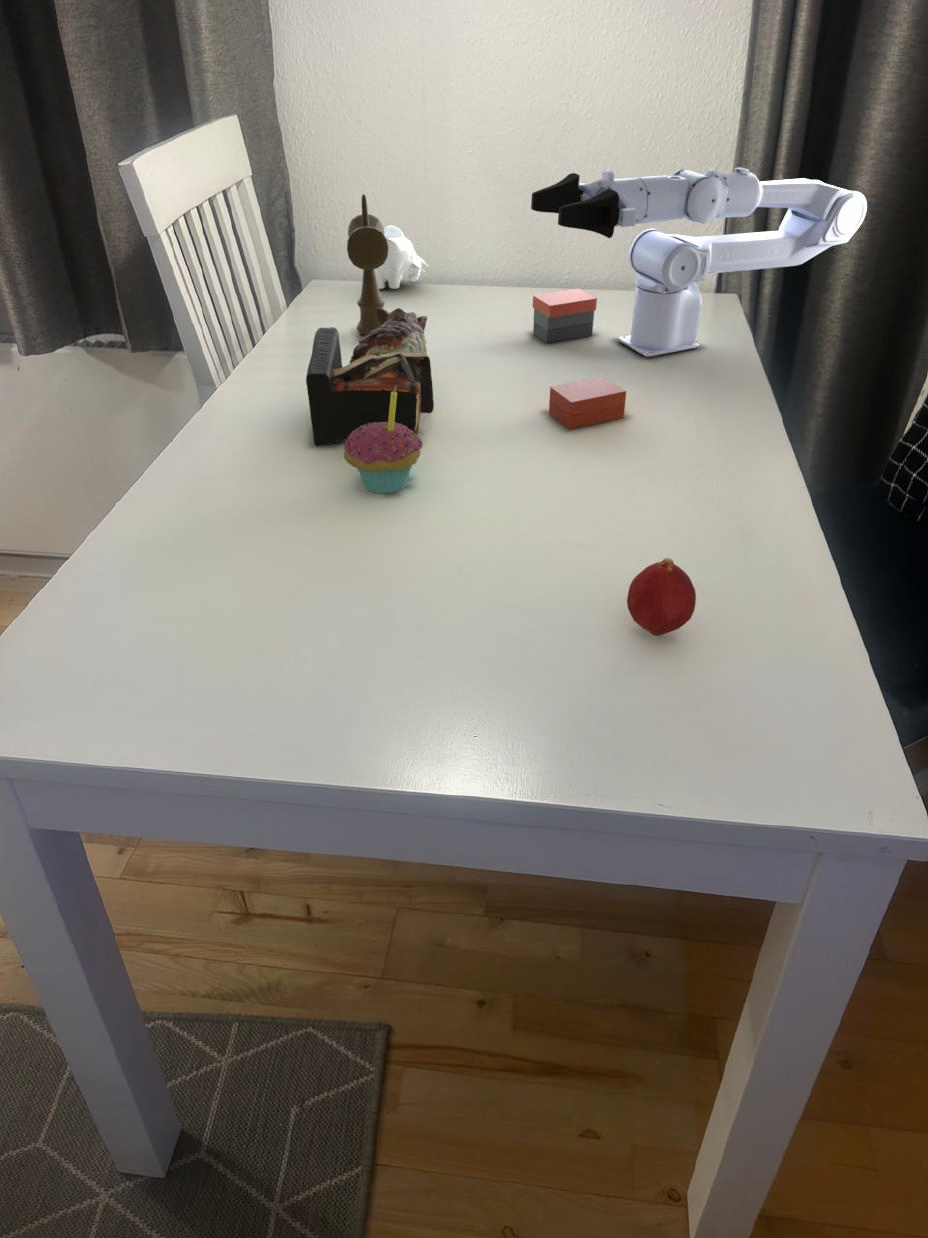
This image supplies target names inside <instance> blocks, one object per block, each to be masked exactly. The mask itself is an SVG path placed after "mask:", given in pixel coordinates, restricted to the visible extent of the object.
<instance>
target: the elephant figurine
mask: <svg viewBox="0 0 928 1238" xmlns="http://www.w3.org/2000/svg"><path fill="white" fill-rule="evenodd" d="M384 236H385V237H386V239H387V243H388V247H389V248H388V257H387V259H386V261H385V263H384V264H383V265H381V266H380V267H379V268H377V269H374V270H375V275H376V280H377V284H378V289H379V290H383V289H385V288H386V283H387V282H388V287H389V288H390V289H392V290H397V289H399V288H400V286H401V282H402V281H403V275H404V274H405V273H406V272H409V275H408V277H407V278H408V280H409V281H412V282H416V281H417V280H419V278H420V275H421V272H422V273H423V274H428V272H427V271H426V270H424V269H423V268H422V264H423V265H424V266H427V267H430V265H429V264H428V263H427V262H426V261H425V260H424V259H422V257H420V256H419V255H417V252H416V251H415V248H414V245H413V243H412V241H410V240H409V239H408V238H407V237H405V235H404V232H403V231H402V230H401V228H399V227H397V226H396V225H391V224H390V225H387V226H385V227H384Z"/></svg>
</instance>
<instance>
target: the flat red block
mask: <svg viewBox="0 0 928 1238" xmlns="http://www.w3.org/2000/svg"><path fill="white" fill-rule="evenodd" d="M597 301H598V298H597V297H595V296H593V295H592V294H590V293H588V292H586V291H584V290H582V289H581V288H578V287H577V288H572V289H571V288H570V289H566V290H560V291H552V292H546V293H541V294H535V295H532V308H533V309H534V308H535V309H536V310H538V311H539V312H541V313H543V314H544V315H546V316H548V317H549V318H552V317H558V316H564V315H570V314H576V313H582V312H588V311H594V312H595V311H596V310H597V303H598V302H597Z"/></svg>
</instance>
